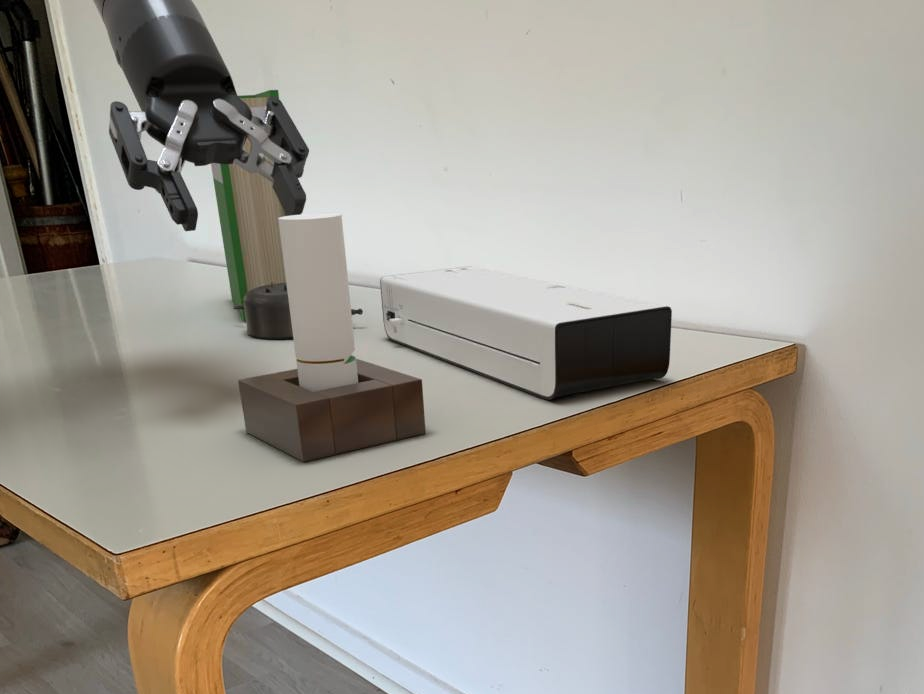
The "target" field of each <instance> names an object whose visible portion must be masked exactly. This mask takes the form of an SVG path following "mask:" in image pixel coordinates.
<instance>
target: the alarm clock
mask: <svg viewBox="0 0 924 694" xmlns="http://www.w3.org/2000/svg"><path fill="white" fill-rule="evenodd" d="M243 303H244V305H241V306H235V305H234V306H232V310H237V309H244V310H245V317H246V332H247V334H248V335H250V336H251V337H254V338H259V339H268V340H289V339H290V340H291V339H293V331H292V323H291V315H290V307H289V300H288V292H287V284H286V283H277V284H273V282H271V285H265V286H261V287H257V288H254V289H252V290H250V291H249V292H247V294H246V295H245V296H244V299H243ZM363 313H364V310H363V309H362V308H358V309H354V308H351V314H352V316H355V315H363ZM293 340H294V339H293Z"/></svg>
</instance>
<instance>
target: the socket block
mask: <svg viewBox="0 0 924 694" xmlns="http://www.w3.org/2000/svg"><path fill="white" fill-rule="evenodd" d="M356 364H357V374H358V383H355V384H350V385H345V386H340V387H335V388H330V389H325V390H320V391H315V392H312V391H309V390H307V389H304V388H302V387H300V385H299V377H298V370H297V368H294V369H289V370H283V371H278V372H273V373H269V374H268V373H267V374H262V375H256V376H251V377H246V378H239V379H237V384H238V390H239V395H240V401H241V409H242V413H243V414H242V415H243V420H244V427H245V432H246V433H247V434H248V435H251V436H253V437H255V438H256V439H258V440H261V441H263V442H264V443H266V444H267V445H270V446H272V447H275V448H276V449H278V450H279V451H281V452H284V453H286V454H287V455H289V456H291V457H293V458H295V459H296V460H299V461H301V462H303V463H306V462H310V461H315V460H318V459H323V458H326V457H330V456H335V455H340V454H343V453H349V452H352V451H356V450H360V449H365V448H370V447H373V446H377V445H382V444H386V443H391V442H395V441H398V440H399V441H400V440H403V439H408V438H412V437H415V436H420V435H424V434H427V433H426V431H427V429H426V418H425V403H424V389H423V380H422V378H418V377H415V376H412V375H409V374H406V373H404V372H401V371H397V370H394V369H391V368H388V367H384V366H381V365H379V364H374V363H372V362H369V361H365V360H362V359H359V358H356Z"/></svg>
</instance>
